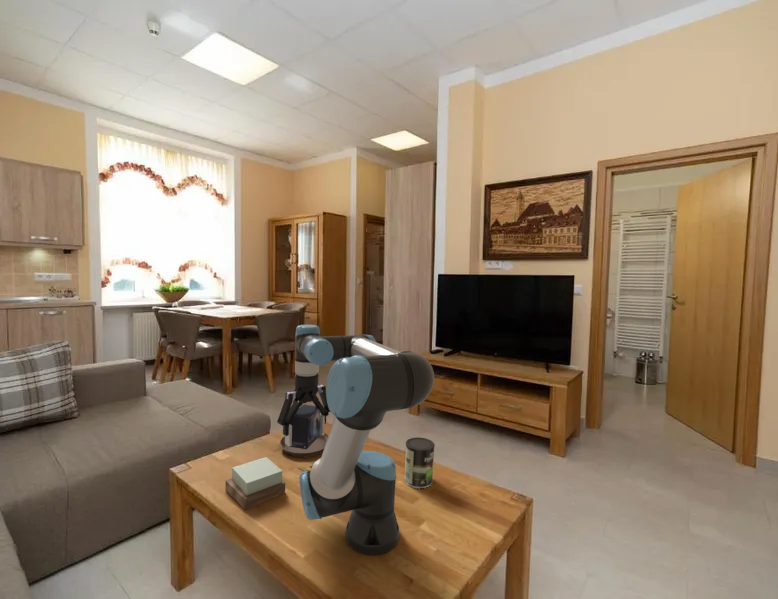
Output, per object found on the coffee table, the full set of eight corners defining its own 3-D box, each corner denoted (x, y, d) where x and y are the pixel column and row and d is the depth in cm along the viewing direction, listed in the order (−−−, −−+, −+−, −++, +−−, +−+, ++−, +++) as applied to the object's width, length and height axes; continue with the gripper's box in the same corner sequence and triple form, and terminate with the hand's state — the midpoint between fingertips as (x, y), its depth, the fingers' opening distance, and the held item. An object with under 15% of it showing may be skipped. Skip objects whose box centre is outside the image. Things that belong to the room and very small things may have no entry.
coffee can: (437, 479, 142) (439, 442, 141) (423, 492, 133) (425, 452, 132) (413, 470, 148) (414, 434, 146) (398, 482, 139) (400, 444, 138)
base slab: (285, 493, 130) (285, 482, 130) (244, 511, 120) (244, 499, 119) (264, 476, 140) (264, 466, 139) (225, 491, 129) (225, 480, 129)
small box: (307, 450, 120) (308, 417, 120) (288, 447, 122) (288, 414, 121) (320, 436, 131) (321, 405, 130) (302, 434, 132) (303, 403, 131)
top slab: (282, 482, 129) (282, 470, 129) (246, 495, 121) (246, 483, 121) (266, 467, 138) (266, 456, 138) (231, 479, 130) (232, 467, 130)
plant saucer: (315, 464, 149) (315, 456, 149) (269, 453, 156) (269, 445, 156) (338, 442, 169) (339, 434, 169) (297, 433, 175) (297, 426, 175)
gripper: (329, 365, 136) (328, 426, 137) (266, 376, 119) (265, 446, 120) (343, 369, 130) (341, 432, 132) (279, 382, 113) (277, 454, 115)
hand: (305, 439), depth 126 cm, fingers closed on small box, 12 cm apart
